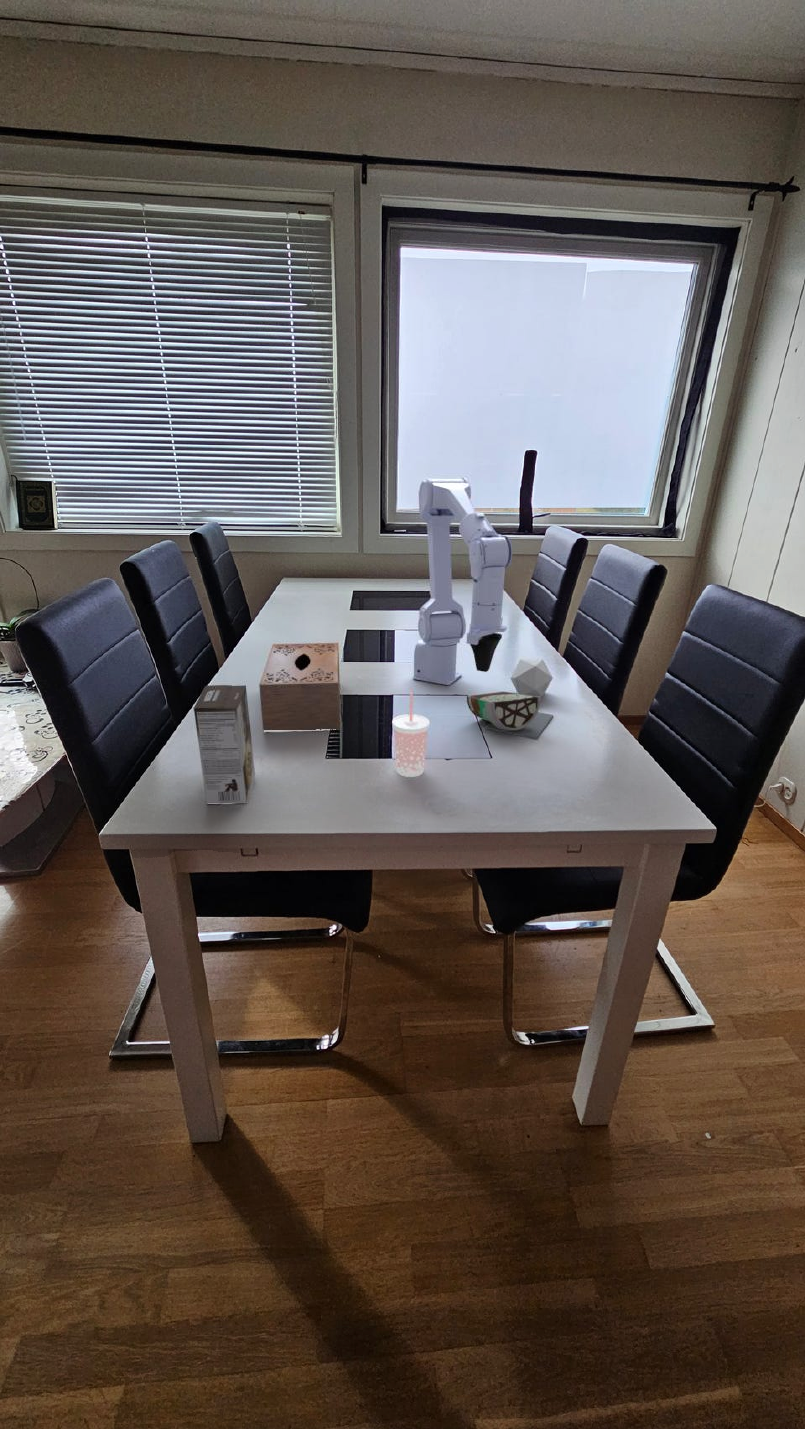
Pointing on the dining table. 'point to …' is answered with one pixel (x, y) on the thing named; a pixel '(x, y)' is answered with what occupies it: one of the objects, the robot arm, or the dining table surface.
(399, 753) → the beverage cup
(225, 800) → the coffee box
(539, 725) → the mat
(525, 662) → the die
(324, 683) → the tissue box cover
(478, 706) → the food container
